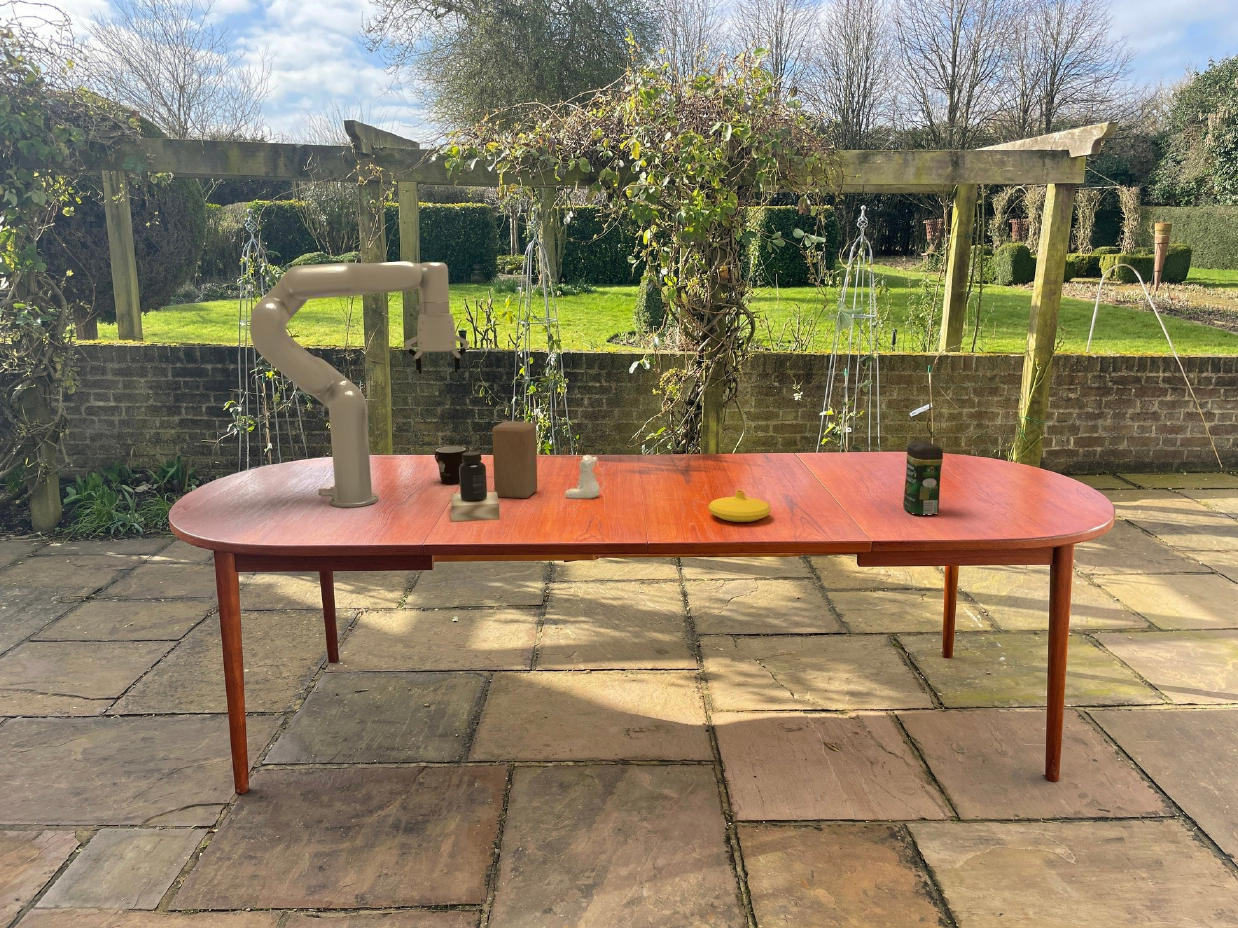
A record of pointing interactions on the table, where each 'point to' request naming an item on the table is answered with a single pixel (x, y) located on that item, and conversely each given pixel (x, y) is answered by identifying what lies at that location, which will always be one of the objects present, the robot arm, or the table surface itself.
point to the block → (515, 459)
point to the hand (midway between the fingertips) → (438, 372)
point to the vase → (739, 508)
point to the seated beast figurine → (585, 481)
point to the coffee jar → (923, 478)
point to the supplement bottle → (472, 477)
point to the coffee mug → (449, 464)
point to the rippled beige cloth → (475, 508)
